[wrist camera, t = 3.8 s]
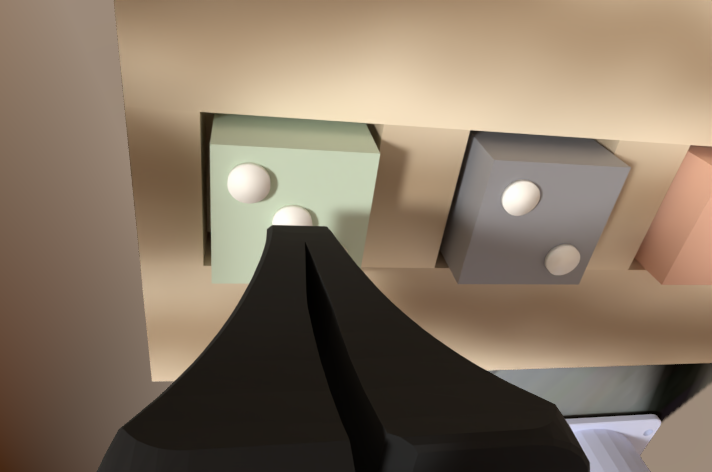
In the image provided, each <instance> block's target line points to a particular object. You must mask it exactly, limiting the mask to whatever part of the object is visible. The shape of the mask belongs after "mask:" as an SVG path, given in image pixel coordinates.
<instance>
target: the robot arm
mask: <svg viewBox="0 0 712 472" xmlns="http://www.w3.org/2000/svg"><path fill="white" fill-rule="evenodd" d="M660 424H661V420H660V419H659V418H658V416H657V415H655V414H644V415H626V416H608V417H590V418H573V419H565V418H564V417H563V415H562V414H561V412H560V411H559V409H558V408H557V407H556V405H555V404H553V403H551V402H549V401H547V400H545V399H542V398H540V397H538V396H536V395H534V394H532V393H530V392H528V391H525V390H523V389H521V388H519V387H517V386H515V385H513V384H511V383H508V382H507V381H505V380H503V379H501V378H499V377H497V376H496V375H494V374H492V373H490V372H488V371H487V370H485V369H483V368H481V367H479V366H478V365H476V364H474V363H473V362H471V361H469V360H468V359H466V358H465V357H463V356H461V355H460V354H458V353H457V352H455V351H454V350H452V349H451V348H449V347H448V346H446V345H445V344H444V343H442V342H441V341H439V340H438V339H436V338H435V337H433V336H432V335H431V334H429V333H428V332H427V331H425V330H424V329H423V328H422V327H420V326H419V325H418V324H417V323H416V322H414V321H413V320H412V319H411V318H409V317H408V316H407V315H406V314H405V313H403V312H402V311H401V310H400V309H399V308H398V307H397V306H396V305H394V304H393V303H392V302H391V301H390V300H389V299H388V298H387V297H386V296H385V295H384V294H383V293H382V292H381V291H380V290H379V289H378V288H377V286H376V285H375V284H374V283H373V282H372V281H371V280H370V279H369V278H368V276H367V275H366V274H365V273H364V272H363V271H362V270H361V268H360V267H359V266H358V265H357V264H356V263H355V261H354V260H353V259H352V258H351V256H350V255H349V254H348V253H347V251H346V250H345V249H344V247H343V246H342V245H341V243H340V242H339V241H338V240H337V238H336V237H335V235H334V234H333V233H332V231H331V230H330V229H329V228H328V227H327V226H294V225H272V226H270V227H269V228H268V229H267V234H266V243H265V246H264V250H263V253H262V256H261V258H260V261H259V263H258V265H257V268H256V270H255V272H254V275H253V277H252V279H251V281H250V283H249V285H248V286H247V288H246V290H245V292H244V294H243V295H242V297H241V299H240V301H239V303H238V304H237V306H236V307H235V309H234V311H233V312H232V314H231V315H230V317H229V318H228V320H227V321H226V322H225V324H224V325H223V327H222V328H221V329H220V331H219V332H218V333H217V335H216V336H215V337H214V338H213V340H212V341H211V342H210V343H209V345H208V346H207V347H206V348H205V350H204V351H203V352H202V353H201V354H200V355H199V356H198V358H197V359H196V360H195V361H194V362H193V363H192V364H191V365H190V366H189V367H188V368H187V369H186V370H185V371H184V372H183V373H182V374H181V375H180V376H179V377H178V378H177V379H176V380H175V381H174V382H173V383H172V385H170V386H169V387H168V388H167V389H166V390H165V391H164V392H163V393H162V394H161V395H160V396H159V397H158V398H156V399H155V400H154V401H153V402H152V403H150V404H149V405H148V406H147V407H146V408H144V409H143V410H142V411H141V412H140V413H138V414H137V415H136V416H135V417H133V418H132V419H131V420H130V421H129V422H127V423H126V424H125V425H124V426H122V427H121V428H120V429H119V430H118V432H117V434H116V435H115V437H114V439H113V441H112V443H111V445H110V447H109V449H108V450H107V452H106V454H105V456H104V458H103V460H102V462H101V464H100V466H99V468H98V470H97V472H650V470H649V469H648V468H647V466H646V464H645V463H644V461H643V460H642V458H641V457H640V455H641V453H642V452H643V450H644V449H645V447H646V446H647V444H648V443H649V441H650V440H651V438H652V437H653V435H654V434H655V432H656V431H657V429H658V428H659V426H660Z"/></svg>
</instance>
